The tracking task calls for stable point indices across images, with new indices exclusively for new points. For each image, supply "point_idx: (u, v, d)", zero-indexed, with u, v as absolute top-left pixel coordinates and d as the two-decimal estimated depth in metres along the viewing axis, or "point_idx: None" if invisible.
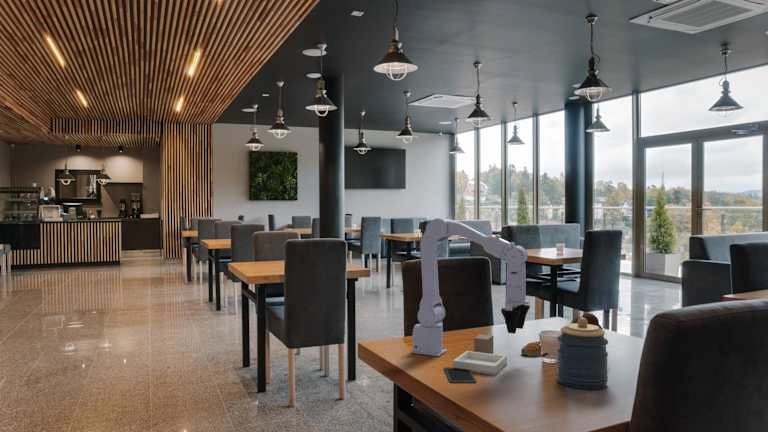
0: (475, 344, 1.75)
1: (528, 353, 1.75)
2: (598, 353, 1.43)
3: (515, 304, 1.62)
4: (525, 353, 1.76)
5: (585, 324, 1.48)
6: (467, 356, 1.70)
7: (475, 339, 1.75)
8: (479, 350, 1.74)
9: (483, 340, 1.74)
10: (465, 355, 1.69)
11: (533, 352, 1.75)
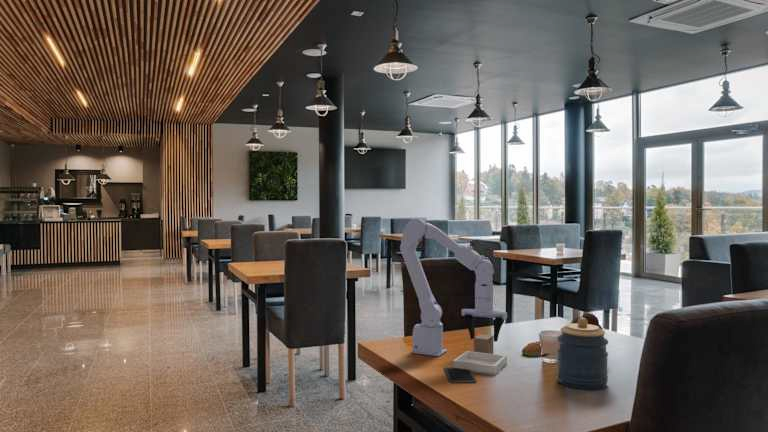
0: (475, 344, 1.75)
1: (529, 353, 1.75)
2: (598, 353, 1.43)
3: (467, 311, 1.78)
4: (525, 353, 1.76)
5: (585, 324, 1.48)
6: (467, 356, 1.70)
7: (475, 339, 1.75)
8: (479, 350, 1.74)
9: (483, 340, 1.74)
10: (465, 355, 1.69)
11: (534, 352, 1.75)
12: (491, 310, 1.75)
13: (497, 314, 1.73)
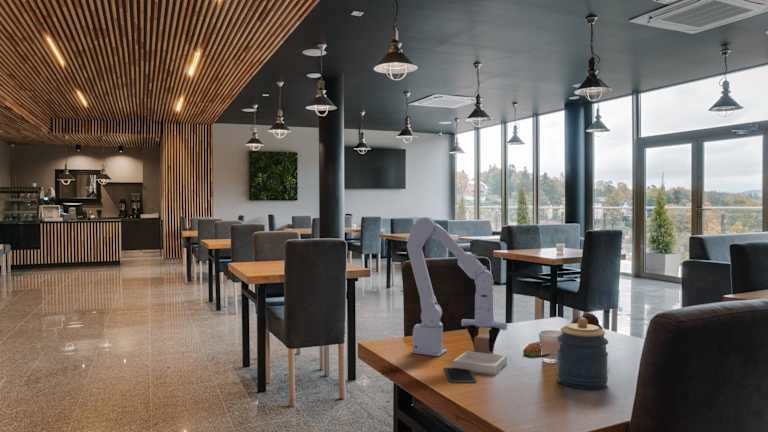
0: (475, 344, 1.75)
1: (530, 354, 1.75)
2: (598, 353, 1.43)
3: (467, 322, 1.78)
4: (527, 354, 1.75)
5: (585, 324, 1.48)
6: (467, 356, 1.70)
7: (475, 339, 1.75)
8: (479, 350, 1.74)
9: (483, 340, 1.74)
10: (465, 355, 1.69)
11: (535, 352, 1.75)
12: (491, 321, 1.75)
13: (497, 325, 1.73)
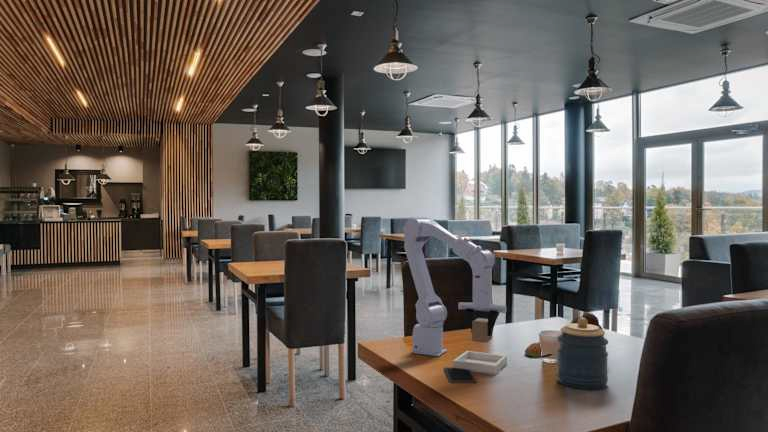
0: (473, 328, 1.66)
1: (532, 354, 1.75)
2: (598, 353, 1.43)
3: (464, 305, 1.69)
4: (529, 354, 1.75)
5: (585, 324, 1.48)
6: (467, 356, 1.70)
7: (473, 323, 1.66)
8: (478, 334, 1.65)
9: (482, 323, 1.65)
10: (465, 355, 1.69)
11: (537, 353, 1.75)
12: (489, 303, 1.66)
13: (496, 307, 1.64)
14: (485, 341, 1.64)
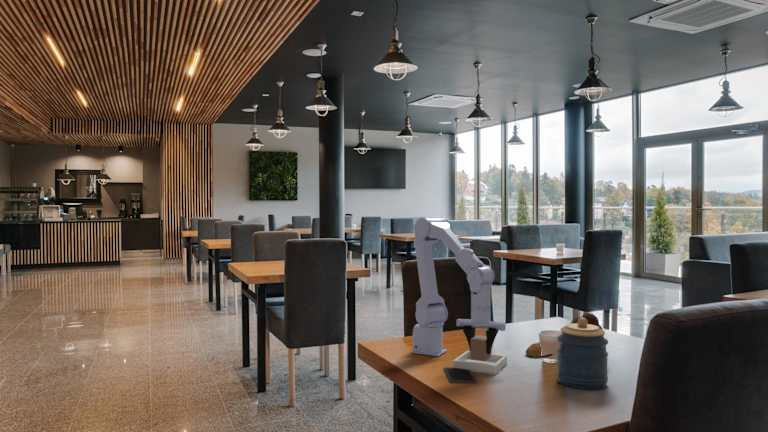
0: (472, 346, 1.62)
1: (533, 354, 1.74)
2: (598, 353, 1.43)
3: (463, 322, 1.65)
4: (530, 354, 1.75)
5: (585, 324, 1.48)
6: (467, 356, 1.70)
7: (471, 340, 1.62)
8: (476, 353, 1.62)
9: (480, 341, 1.61)
10: (465, 355, 1.69)
11: (538, 353, 1.75)
12: (488, 321, 1.62)
13: (495, 325, 1.60)
14: (484, 359, 1.61)
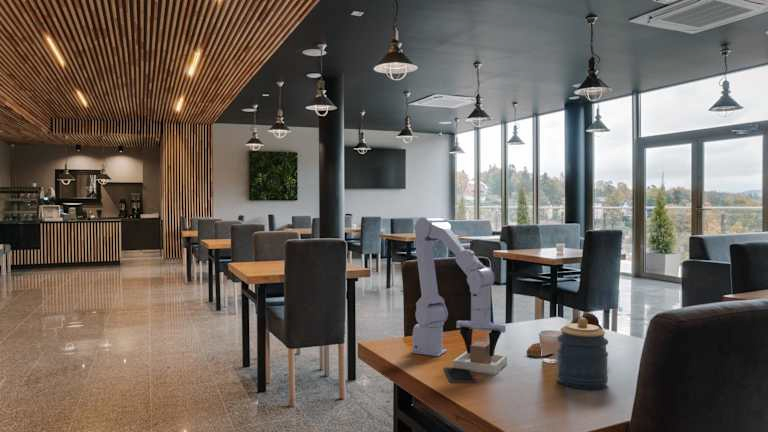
0: (471, 352, 1.62)
1: (534, 354, 1.74)
2: (598, 353, 1.43)
3: (463, 323, 1.65)
4: (531, 354, 1.75)
5: (585, 324, 1.48)
6: (467, 356, 1.70)
7: (471, 347, 1.62)
8: (476, 359, 1.62)
9: (480, 348, 1.61)
10: (465, 355, 1.69)
11: (539, 353, 1.74)
12: (488, 322, 1.62)
13: (495, 327, 1.60)
14: None
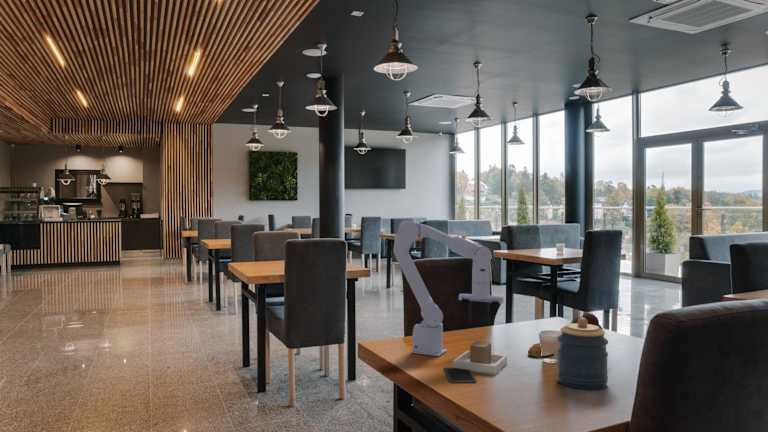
0: (471, 352, 1.62)
1: (536, 354, 1.74)
2: (598, 353, 1.43)
3: (464, 296, 1.81)
4: (532, 354, 1.74)
5: (585, 324, 1.48)
6: (467, 356, 1.70)
7: (471, 347, 1.62)
8: (476, 359, 1.62)
9: (480, 348, 1.61)
10: (465, 355, 1.69)
11: None
12: (488, 294, 1.78)
13: (493, 298, 1.77)
14: None
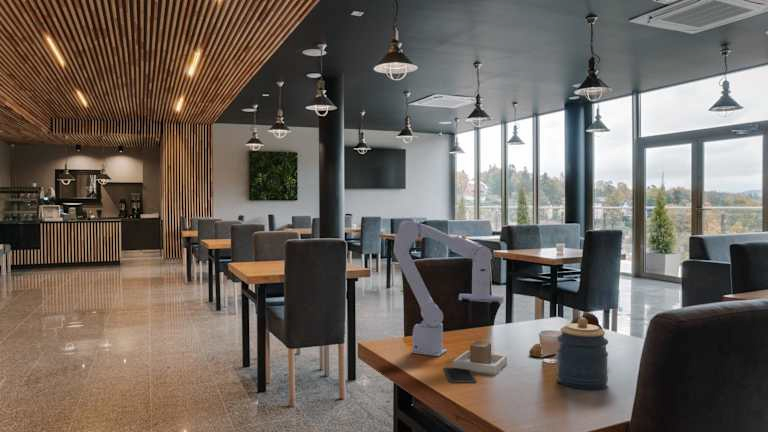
0: (471, 352, 1.62)
1: (537, 354, 1.74)
2: (598, 353, 1.43)
3: (464, 296, 1.81)
4: (534, 354, 1.74)
5: (585, 324, 1.48)
6: (467, 356, 1.70)
7: (471, 347, 1.62)
8: (476, 359, 1.62)
9: (480, 348, 1.61)
10: (465, 355, 1.69)
11: None
12: (488, 294, 1.78)
13: (493, 298, 1.77)
14: None
